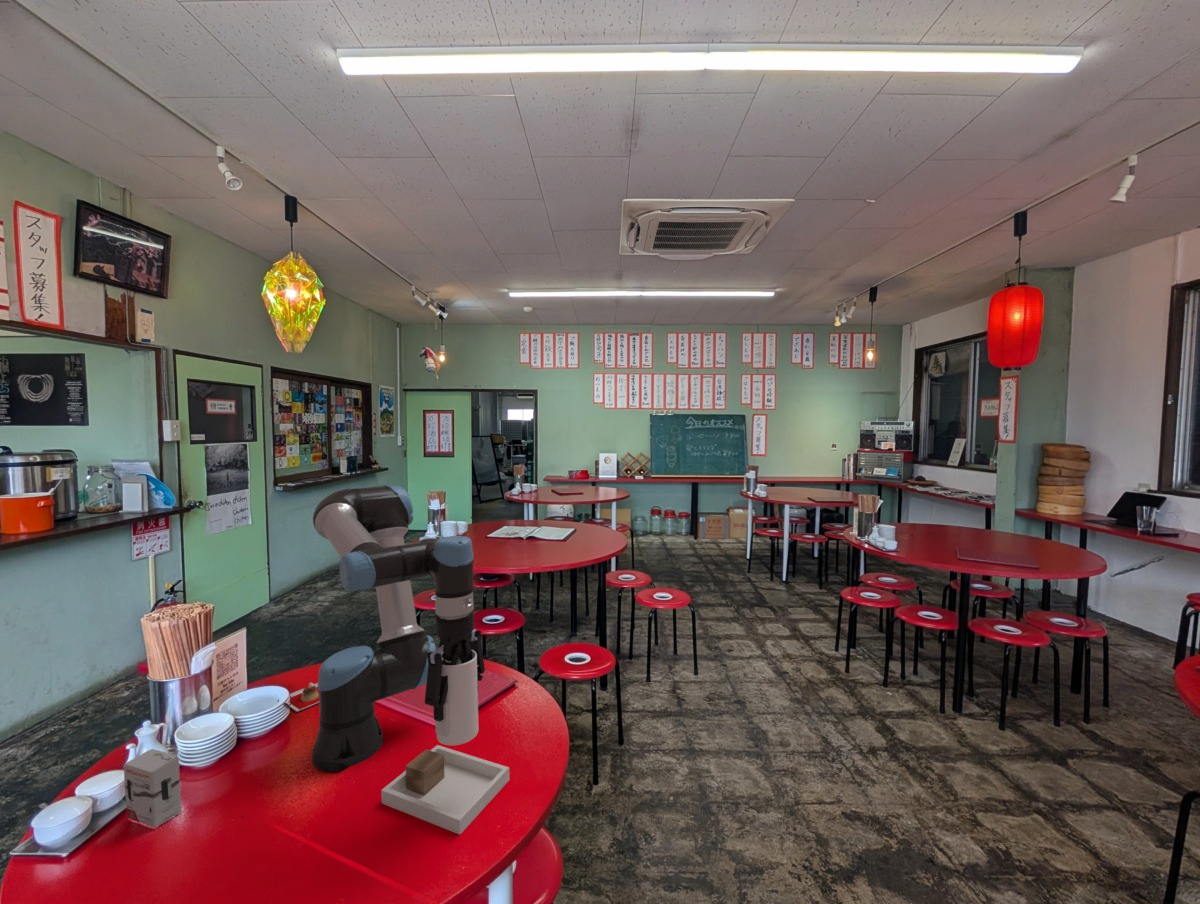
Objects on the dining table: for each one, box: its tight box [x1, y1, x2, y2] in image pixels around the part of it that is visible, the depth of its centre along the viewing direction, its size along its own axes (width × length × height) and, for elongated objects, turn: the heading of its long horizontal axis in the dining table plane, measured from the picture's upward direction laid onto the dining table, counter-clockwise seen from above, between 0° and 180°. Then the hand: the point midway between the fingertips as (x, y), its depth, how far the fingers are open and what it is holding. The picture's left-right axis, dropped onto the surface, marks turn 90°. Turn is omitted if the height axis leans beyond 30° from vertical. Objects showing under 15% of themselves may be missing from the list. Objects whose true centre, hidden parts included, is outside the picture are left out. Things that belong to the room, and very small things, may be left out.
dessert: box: [289, 682, 319, 712], centre depth 144 cm, size 12×12×5 cm
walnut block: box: [405, 749, 444, 796], centre depth 106 cm, size 5×6×5 cm
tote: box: [381, 744, 510, 835], centre depth 104 cm, size 20×16×4 cm
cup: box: [436, 650, 479, 746], centre depth 102 cm, size 8×8×16 cm
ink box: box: [123, 748, 182, 828], centre depth 99 cm, size 8×5×12 cm, turn 72°
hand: (457, 722), depth 102 cm, fingers closed on cup, 8 cm apart
